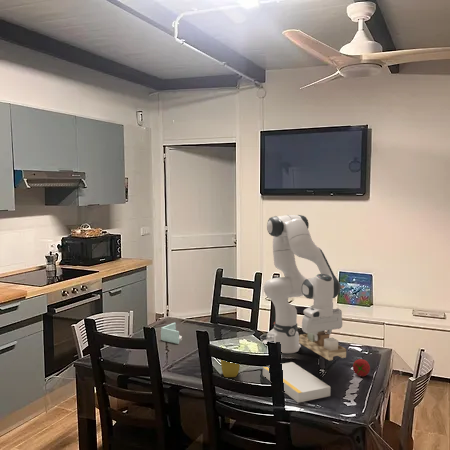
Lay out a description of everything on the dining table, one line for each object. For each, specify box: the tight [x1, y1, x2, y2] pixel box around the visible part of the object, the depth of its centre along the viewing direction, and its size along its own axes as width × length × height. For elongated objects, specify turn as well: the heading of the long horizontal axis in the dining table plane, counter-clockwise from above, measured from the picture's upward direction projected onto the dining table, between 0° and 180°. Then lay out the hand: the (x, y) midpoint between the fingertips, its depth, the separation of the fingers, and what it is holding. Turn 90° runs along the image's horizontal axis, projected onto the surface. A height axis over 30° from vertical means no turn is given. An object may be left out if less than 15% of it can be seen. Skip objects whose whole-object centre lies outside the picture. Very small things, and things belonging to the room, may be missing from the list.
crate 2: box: [324, 337, 339, 351], centre depth 220 cm, size 4×4×4 cm
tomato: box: [352, 358, 371, 378], centre depth 229 cm, size 8×8×8 cm
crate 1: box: [307, 331, 322, 342], centre depth 232 cm, size 4×4×4 cm
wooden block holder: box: [299, 331, 347, 361], centre depth 226 cm, size 24×9×8 cm, turn 24°
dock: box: [262, 361, 332, 404], centre depth 218 cm, size 30×16×4 cm, turn 24°
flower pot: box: [220, 359, 241, 378], centre depth 228 cm, size 9×9×9 cm
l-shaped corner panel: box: [160, 322, 183, 345], centre depth 278 cm, size 12×12×8 cm
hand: (321, 339), depth 226 cm, fingers closed on wooden block holder, 4 cm apart
